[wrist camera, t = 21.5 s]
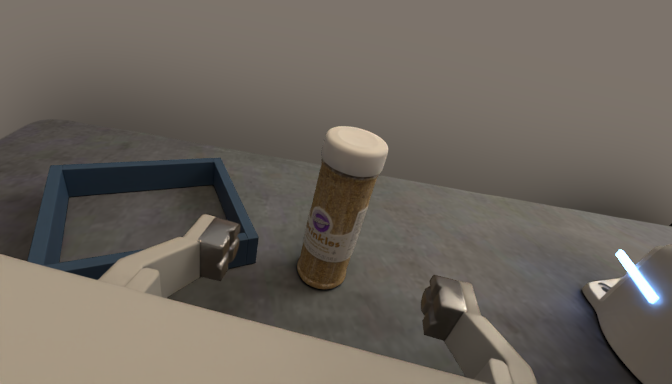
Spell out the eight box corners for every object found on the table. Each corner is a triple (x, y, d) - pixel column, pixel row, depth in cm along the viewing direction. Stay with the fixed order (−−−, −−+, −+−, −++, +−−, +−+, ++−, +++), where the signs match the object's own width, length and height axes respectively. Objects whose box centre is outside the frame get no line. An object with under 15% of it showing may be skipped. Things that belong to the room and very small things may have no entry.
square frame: (219, 180, 39) (220, 157, 37) (255, 263, 29) (258, 237, 28) (57, 192, 31) (50, 165, 30) (35, 309, 22) (22, 278, 20)
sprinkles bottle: (286, 275, 29) (314, 134, 22) (311, 247, 32) (342, 118, 25) (332, 300, 28) (378, 160, 21) (353, 268, 31) (397, 139, 24)
